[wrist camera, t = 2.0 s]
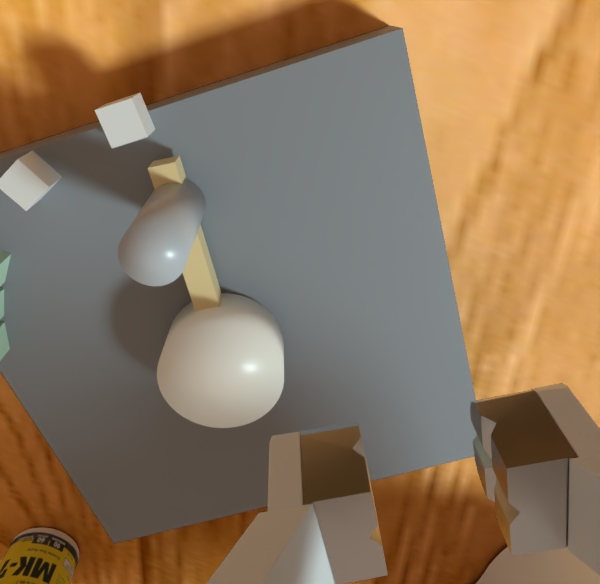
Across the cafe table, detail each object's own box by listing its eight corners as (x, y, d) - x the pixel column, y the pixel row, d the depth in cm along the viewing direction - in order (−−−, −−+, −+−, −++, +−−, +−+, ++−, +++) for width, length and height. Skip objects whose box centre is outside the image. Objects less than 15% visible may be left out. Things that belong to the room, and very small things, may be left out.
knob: (294, 380, 31) (297, 467, 25) (187, 400, 31) (166, 491, 25) (233, 142, 25) (218, 185, 19) (102, 171, 25) (49, 221, 20)
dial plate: (471, 420, 37) (495, 473, 32) (121, 507, 39) (102, 566, 35) (386, 6, 26) (406, 7, 22) (-93, 165, 28) (-157, 192, 24)
